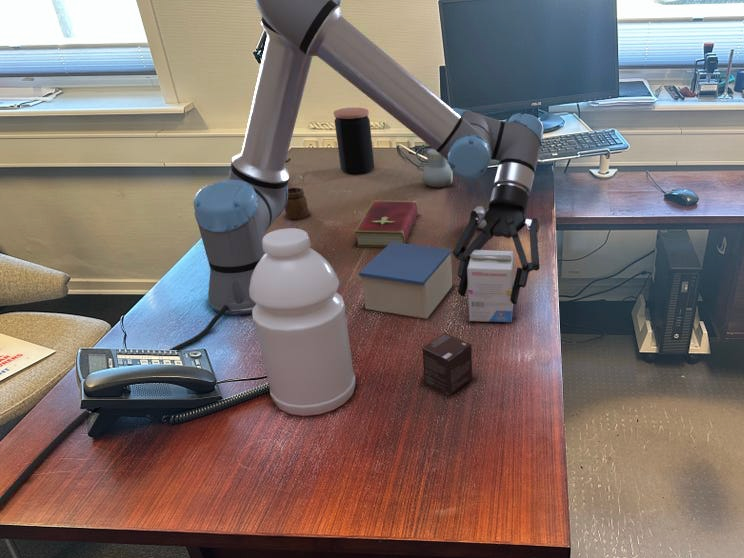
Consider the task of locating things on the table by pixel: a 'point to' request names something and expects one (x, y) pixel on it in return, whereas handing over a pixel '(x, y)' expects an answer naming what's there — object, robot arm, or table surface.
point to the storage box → (408, 293)
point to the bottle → (301, 326)
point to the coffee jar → (354, 140)
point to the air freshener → (437, 170)
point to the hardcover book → (386, 223)
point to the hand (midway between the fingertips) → (487, 298)
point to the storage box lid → (405, 263)
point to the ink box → (490, 285)
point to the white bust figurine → (481, 210)
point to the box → (447, 363)
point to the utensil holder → (296, 203)
